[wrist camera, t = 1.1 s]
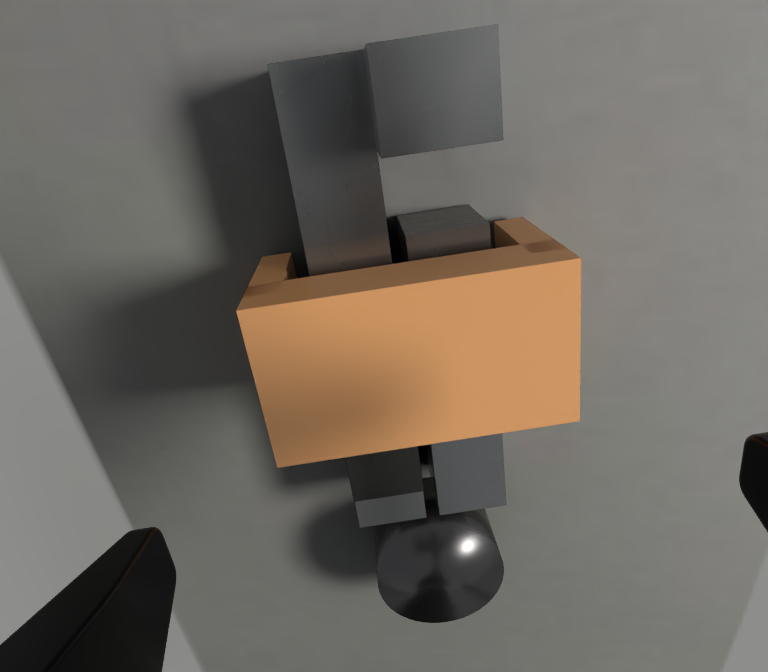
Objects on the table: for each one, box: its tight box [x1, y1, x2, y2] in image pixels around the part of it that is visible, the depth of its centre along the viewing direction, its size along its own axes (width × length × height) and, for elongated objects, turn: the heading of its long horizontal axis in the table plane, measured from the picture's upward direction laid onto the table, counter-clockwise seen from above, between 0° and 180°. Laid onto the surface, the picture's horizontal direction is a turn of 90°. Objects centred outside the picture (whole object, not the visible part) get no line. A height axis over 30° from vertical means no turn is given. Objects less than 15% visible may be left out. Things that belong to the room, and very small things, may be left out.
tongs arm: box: [267, 24, 503, 528], centre depth 14 cm, size 12×4×4 cm, turn 8°
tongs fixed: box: [374, 204, 506, 623], centre depth 17 cm, size 13×4×2 cm, turn 8°
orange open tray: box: [236, 217, 581, 468], centre depth 14 cm, size 4×7×4 cm, turn 98°
